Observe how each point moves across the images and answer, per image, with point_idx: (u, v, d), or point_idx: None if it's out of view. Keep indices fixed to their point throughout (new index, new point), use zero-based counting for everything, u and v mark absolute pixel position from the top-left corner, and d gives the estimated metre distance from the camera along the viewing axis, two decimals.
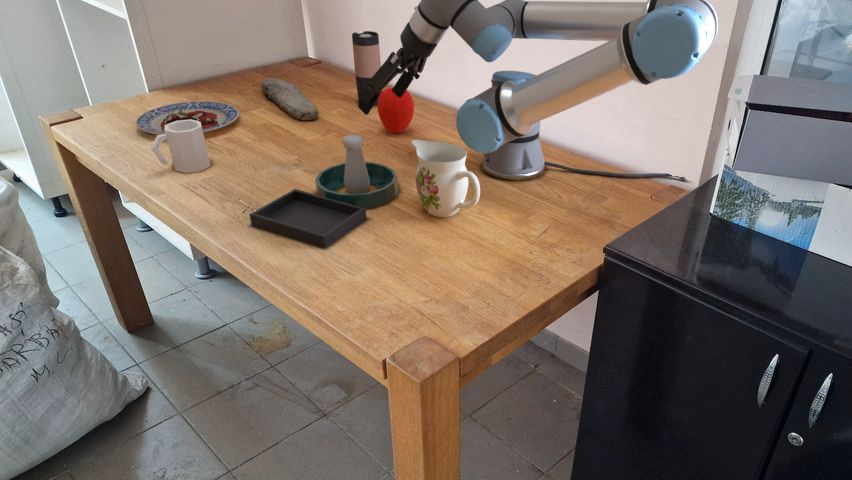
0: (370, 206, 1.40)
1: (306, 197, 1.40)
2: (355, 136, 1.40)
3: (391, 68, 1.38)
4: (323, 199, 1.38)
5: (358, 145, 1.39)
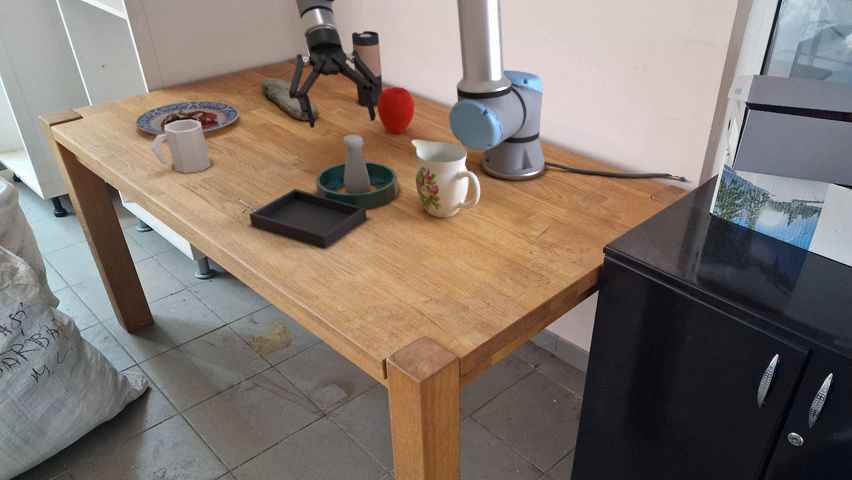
0: (370, 206, 1.40)
1: (306, 197, 1.40)
2: (355, 136, 1.40)
3: None
4: (323, 199, 1.38)
5: (358, 145, 1.39)
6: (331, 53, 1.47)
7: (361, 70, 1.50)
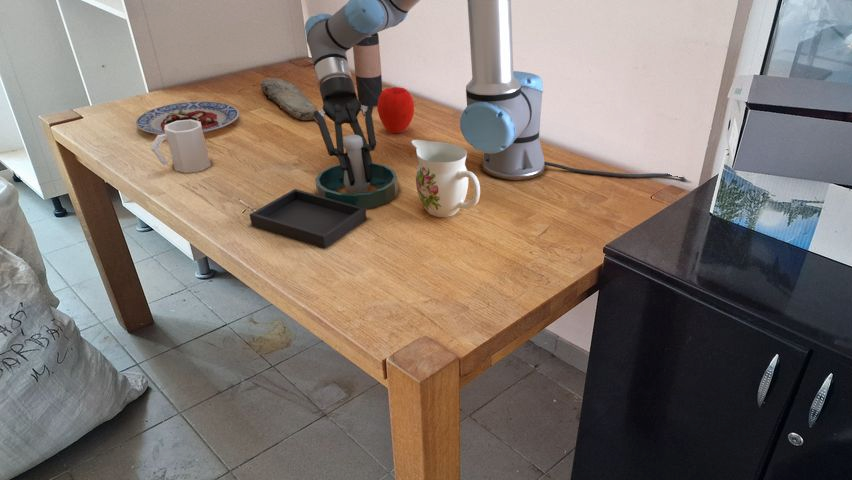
0: (370, 206, 1.40)
1: (306, 197, 1.40)
2: (355, 136, 1.40)
3: (319, 123, 1.41)
4: (323, 199, 1.38)
5: (358, 145, 1.39)
6: (345, 102, 1.44)
7: (366, 125, 1.45)
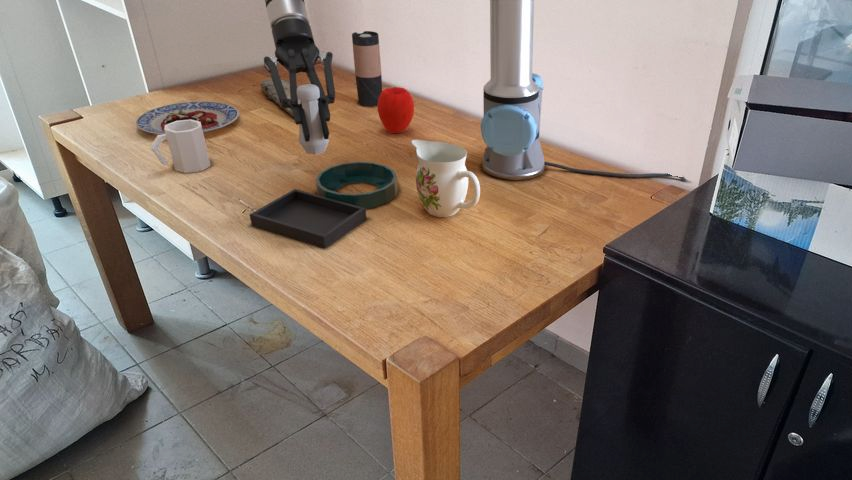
0: (370, 206, 1.40)
1: (306, 197, 1.40)
2: (310, 85, 1.23)
3: (270, 71, 1.25)
4: (323, 199, 1.38)
5: (313, 95, 1.23)
6: (301, 47, 1.27)
7: (325, 75, 1.29)
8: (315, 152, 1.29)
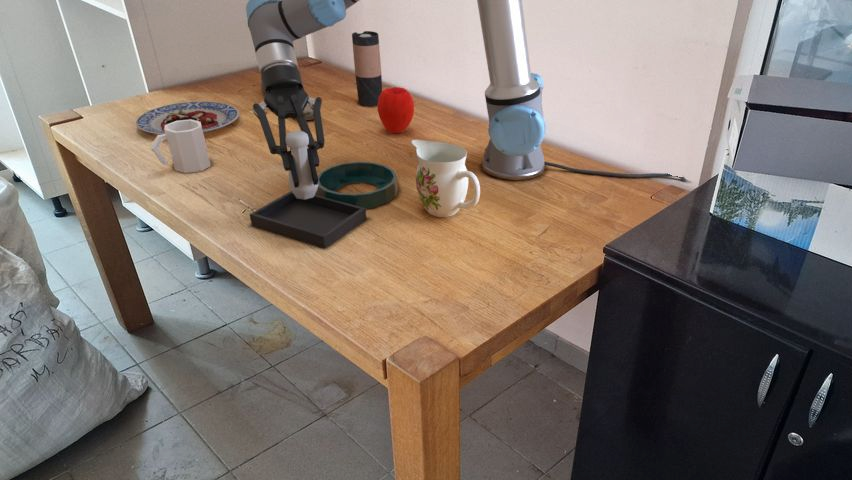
0: (370, 206, 1.40)
1: None
2: (299, 132, 1.24)
3: (259, 117, 1.25)
4: (323, 199, 1.38)
5: (302, 143, 1.23)
6: (290, 93, 1.28)
7: (314, 120, 1.29)
8: (304, 197, 1.29)
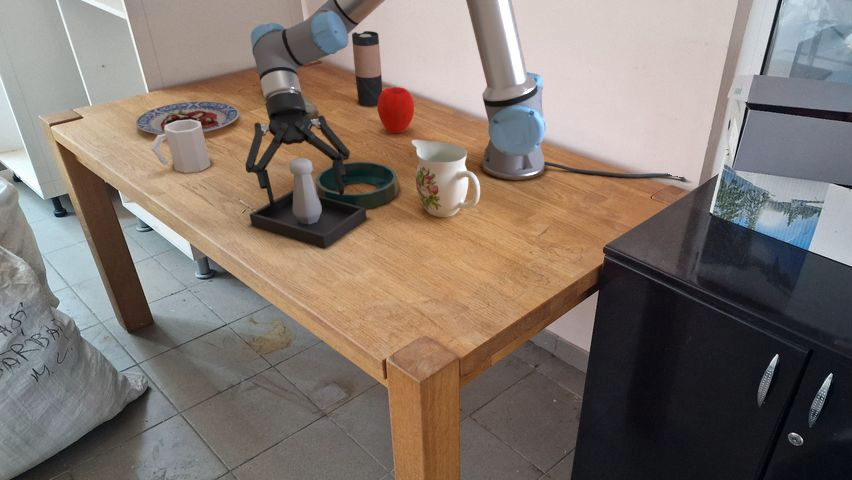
0: (370, 206, 1.40)
1: None
2: (303, 160, 1.27)
3: (254, 136, 1.28)
4: (323, 199, 1.38)
5: (306, 170, 1.26)
6: (294, 120, 1.31)
7: (328, 138, 1.33)
8: (308, 222, 1.32)
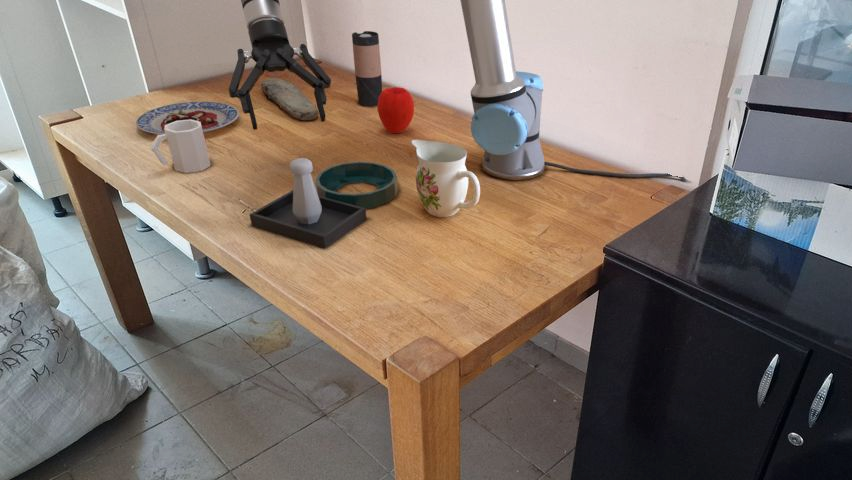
0: (370, 206, 1.40)
1: None
2: (303, 160, 1.27)
3: None
4: (323, 199, 1.38)
5: (306, 170, 1.26)
6: (276, 47, 1.34)
7: (310, 66, 1.37)
8: (308, 222, 1.32)
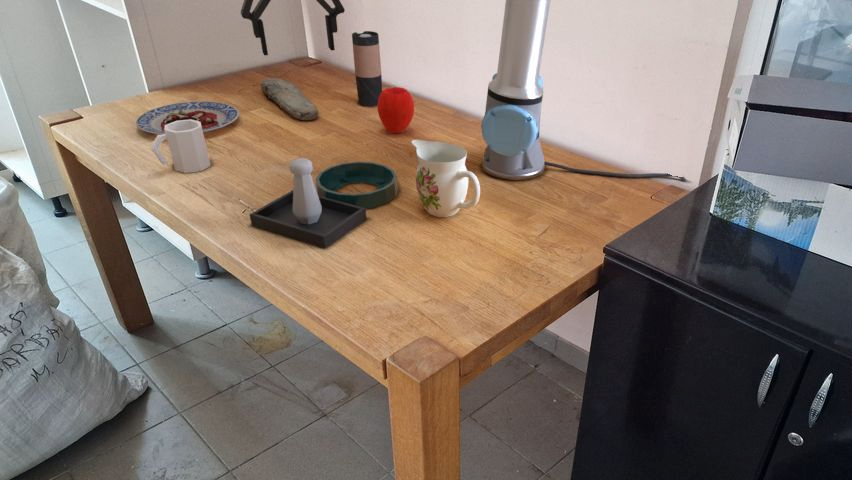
0: (370, 206, 1.40)
1: None
2: (303, 160, 1.27)
3: None
4: (323, 199, 1.38)
5: (306, 170, 1.26)
6: None
7: None
8: (308, 222, 1.32)
